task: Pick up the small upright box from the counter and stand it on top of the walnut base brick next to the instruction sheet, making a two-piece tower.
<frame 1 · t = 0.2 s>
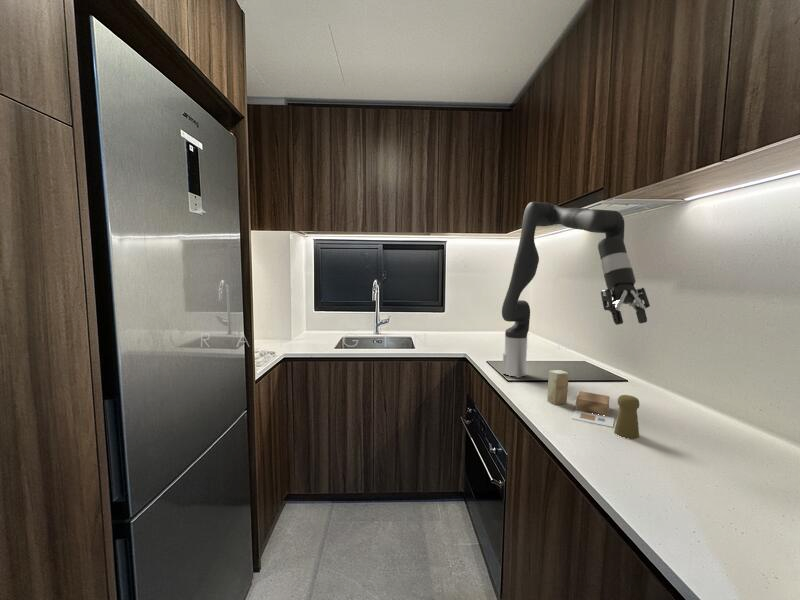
hand: (631, 323, 104), 31 cm above the countertop, tool tilted 20°, fingers open, 8 cm apart
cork: (626, 435, 101), on the countertop
box: (557, 402, 126), on the countertop
base brick: (592, 408, 120), on the countertop
instruction sheet: (593, 418, 112), on the countertop
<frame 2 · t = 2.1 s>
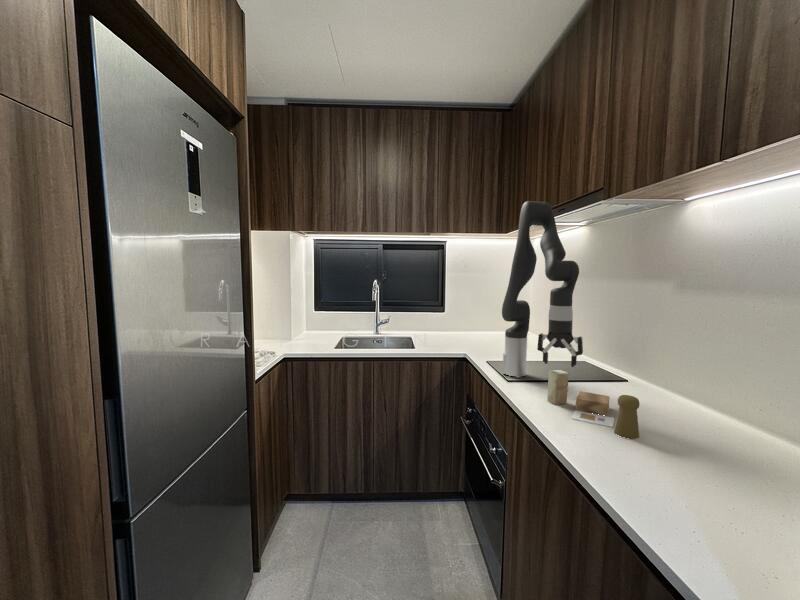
hand: (559, 364, 125), 13 cm above the countertop, tool pointing down, fingers open, 8 cm apart
nothing on the countertop moved.
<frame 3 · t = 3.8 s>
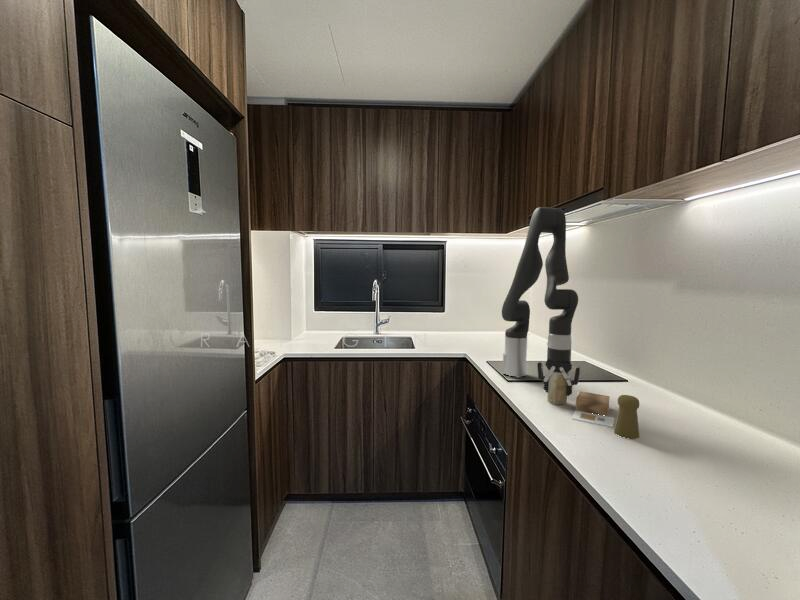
hand: (557, 393, 126), 3 cm above the countertop, tool pointing down, fingers closed on box, 6 cm apart
box: (557, 402, 126), on the countertop, touching gripper
everything else where it was.
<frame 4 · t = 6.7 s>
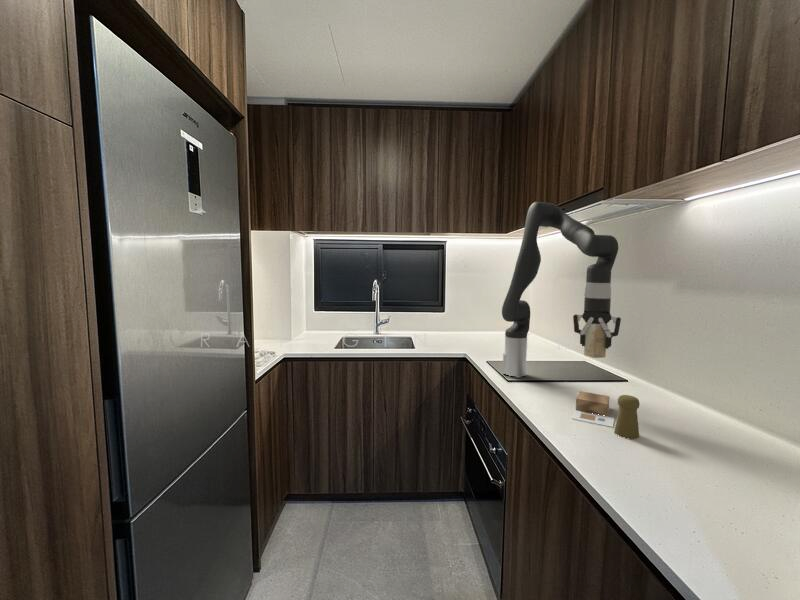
hand: (595, 346, 118), 21 cm above the countertop, tool pointing down, fingers closed on box, 6 cm apart
box: (594, 357, 119), point 18 cm above the countertop, touching gripper
everything else where it was.
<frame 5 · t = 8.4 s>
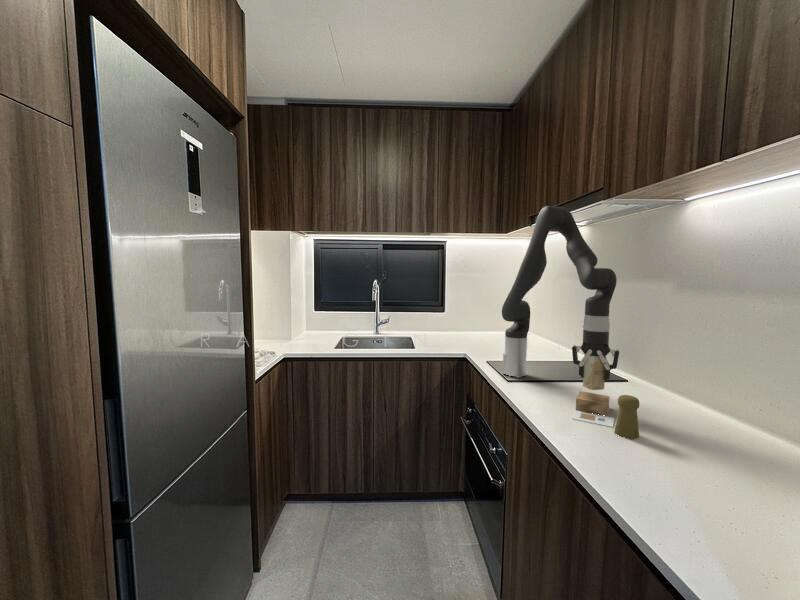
hand: (593, 378, 119), 10 cm above the countertop, tool pointing down, fingers closed on box, 6 cm apart
box: (593, 388, 119), point 7 cm above the countertop, touching gripper
everything else where it was.
when the fingers open (8 cm above the countertop, at t = 9.9 s): box stays where it is, resting on base brick.
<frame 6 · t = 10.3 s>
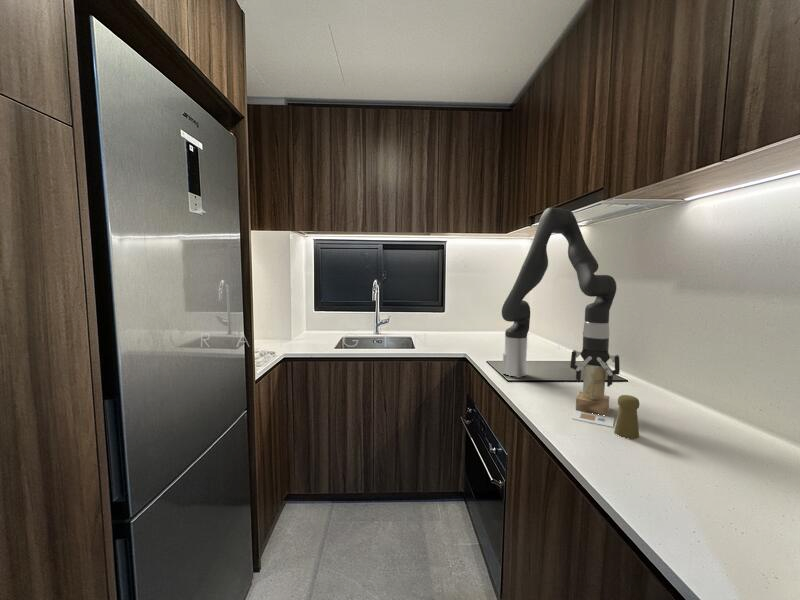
hand: (593, 383, 119), 9 cm above the countertop, tool pointing down, fingers open, 8 cm apart
box: (593, 397, 120), point 4 cm above the countertop, touching base brick
everything else where it was.
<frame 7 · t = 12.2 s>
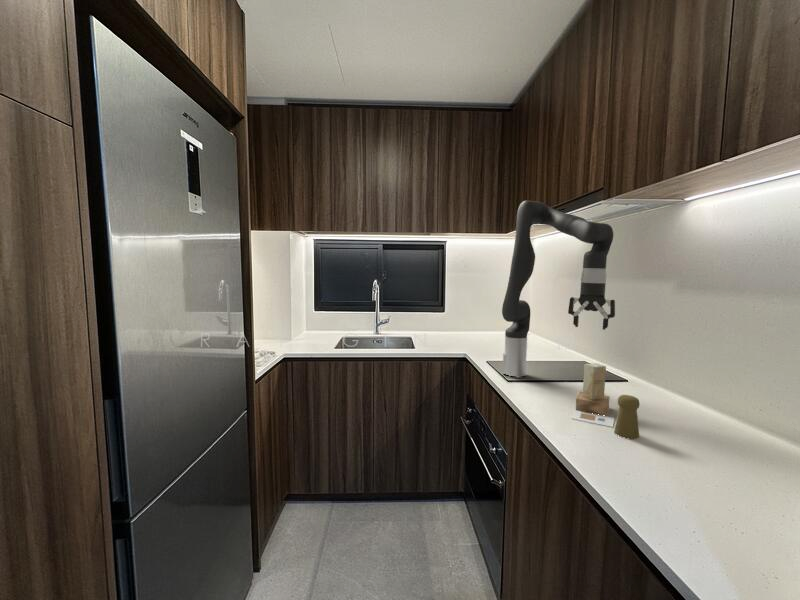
hand: (589, 328, 125), 26 cm above the countertop, tool pointing down, fingers open, 8 cm apart
nothing on the countertop moved.
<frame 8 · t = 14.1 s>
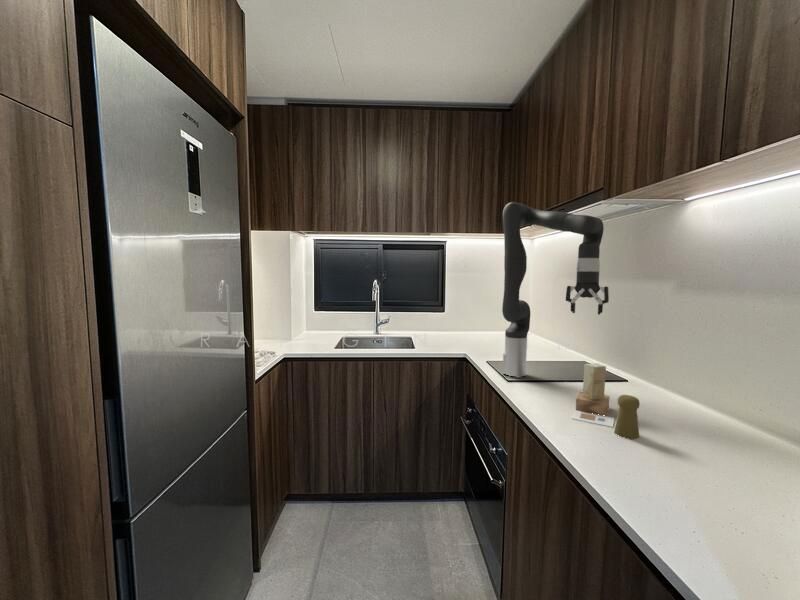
hand: (586, 313, 135), 30 cm above the countertop, tool pointing down, fingers open, 8 cm apart
nothing on the countertop moved.
at the end: box inside the target area on the base brick (0.1 cm from its centre), point 3.8 cm above the base brick's base; box tilted 0°; the gripper is holding nothing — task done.
